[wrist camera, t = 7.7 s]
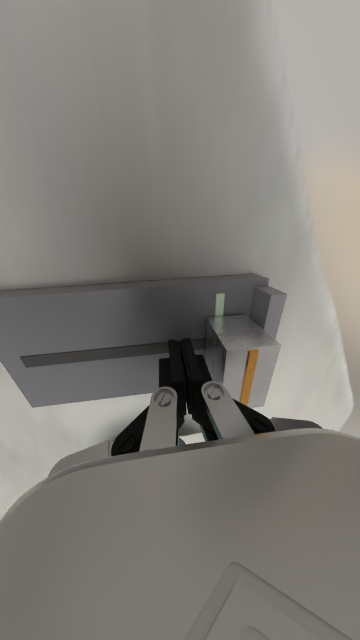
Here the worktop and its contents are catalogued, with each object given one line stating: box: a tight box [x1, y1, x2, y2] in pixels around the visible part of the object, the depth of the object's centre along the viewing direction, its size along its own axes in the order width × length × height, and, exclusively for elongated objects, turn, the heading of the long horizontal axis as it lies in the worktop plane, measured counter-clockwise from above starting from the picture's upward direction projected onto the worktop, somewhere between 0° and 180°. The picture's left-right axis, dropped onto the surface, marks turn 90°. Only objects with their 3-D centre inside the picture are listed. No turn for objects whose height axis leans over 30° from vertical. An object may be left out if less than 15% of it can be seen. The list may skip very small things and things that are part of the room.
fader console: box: [0, 274, 287, 407], centre depth 13 cm, size 10×20×4 cm, turn 92°
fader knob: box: [205, 314, 281, 408], centre depth 11 cm, size 5×3×4 cm, turn 2°
